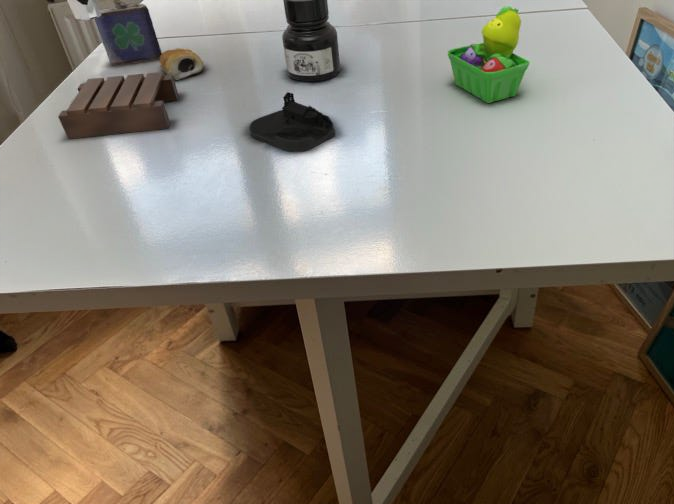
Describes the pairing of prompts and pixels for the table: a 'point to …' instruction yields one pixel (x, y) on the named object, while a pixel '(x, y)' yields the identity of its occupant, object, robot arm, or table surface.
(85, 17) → the milkshake
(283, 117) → the black miniature model
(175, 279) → the table surface
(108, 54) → the flask
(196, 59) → the pastry
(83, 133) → the rack
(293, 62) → the ink bottle
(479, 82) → the fruit basket
